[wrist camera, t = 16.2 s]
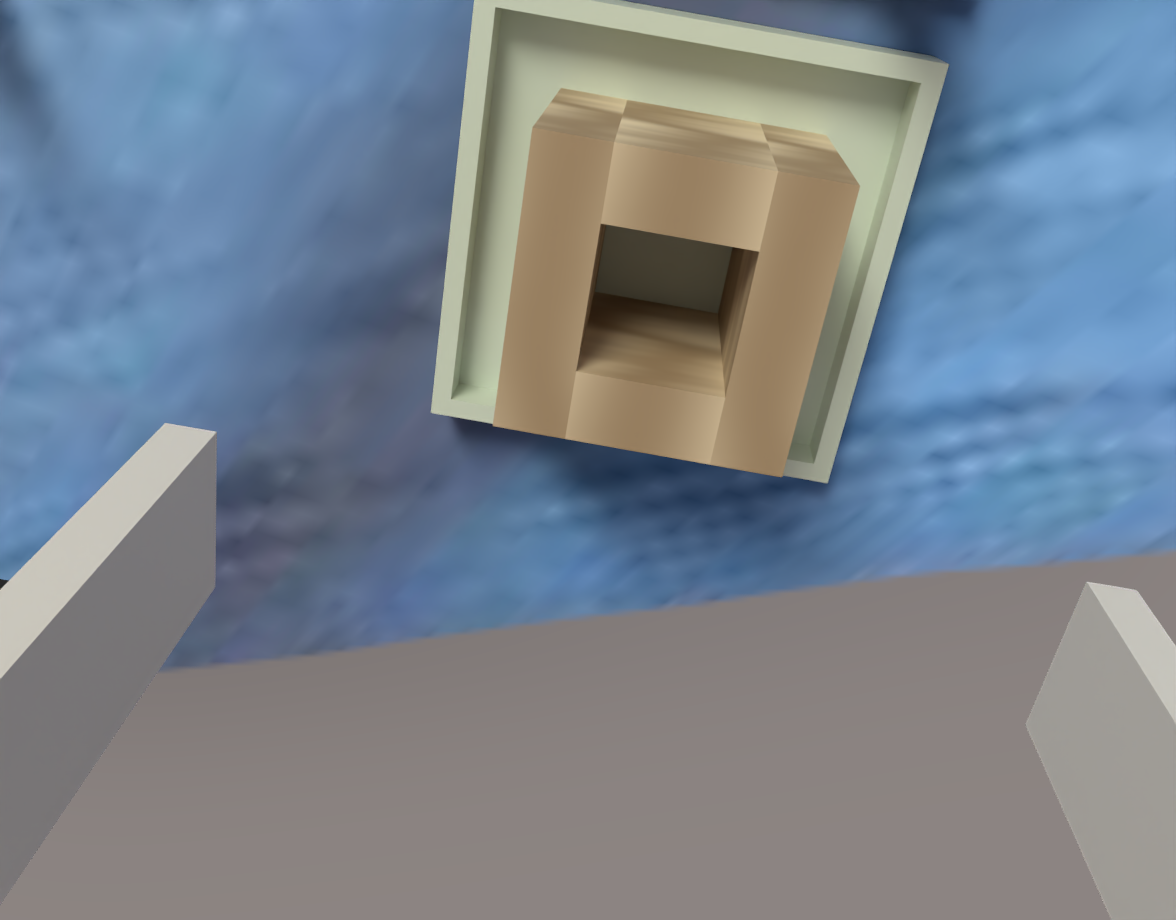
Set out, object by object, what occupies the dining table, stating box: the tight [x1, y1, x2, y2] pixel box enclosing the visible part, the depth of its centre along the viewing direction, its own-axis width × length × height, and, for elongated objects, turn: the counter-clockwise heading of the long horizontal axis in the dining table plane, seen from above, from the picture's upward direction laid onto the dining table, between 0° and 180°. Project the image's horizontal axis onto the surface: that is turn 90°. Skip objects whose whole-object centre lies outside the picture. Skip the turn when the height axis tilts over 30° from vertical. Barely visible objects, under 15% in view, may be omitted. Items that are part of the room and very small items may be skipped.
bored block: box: [493, 88, 860, 477], centre depth 32 cm, size 8×8×7 cm
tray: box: [431, 0, 949, 483], centre depth 34 cm, size 13×13×2 cm
